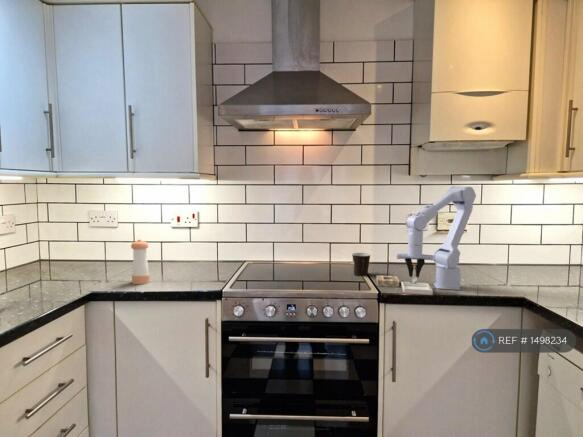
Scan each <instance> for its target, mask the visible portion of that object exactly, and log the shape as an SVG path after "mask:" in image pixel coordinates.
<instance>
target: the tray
mask: <svg viewBox="0 0 583 437" xmlns="http://www.w3.org/2000/svg"><path fill="white" fill-rule="evenodd" d="M400 288H401V289H402V292H403V294H406V295H408V294H409V295H424V296H433V294H434V293H433V292H434V290H433V288H432V287H431V286H430V284H429V283H428V282H417V284H411V281H401V282H400Z"/></svg>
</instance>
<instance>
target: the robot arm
mask: <svg viewBox="0 0 583 437" xmlns="http://www.w3.org/2000/svg"><path fill="white" fill-rule="evenodd" d="M476 197H477V194H476V191H475V189H474V188H473V187H472V186H451V187H450V188H449V189H446V191H445V193H444V194H443V195H442V196H441V197H439V198H438V199H437V200H436V201H435V202H434V203H433V204H425V205H423V208H421V209H420V210H419V211H416V212H415V214H412V215H409V217H408V218H407V219H406V221H405V226H406V227H407V232H408V234H407V236H408V237H407V240H408V241H407V253H396V260H404V262H405V264H406V266H407V270H408V276H409V278H411V277H412V264H413V260H415V261H416V264H417V278H419V277H420V273H421V271H422V270H423V266H424V265H425V263H426V261H432V262H434V263H435V266H436V268H435V271H436V273H435V282H433V286H434V287H435V288H436V289H437V290H439V289H440V290H455V291H457V290H458V291H460V290H461V275H462V274H461V269H460V267H458V265H459V263H460V255H461V251H460V250H459V248H458V247H459V244H460V242H461V240H462V238H463V234H464V232H465V229H466V227H467V224H468V221H469V219H470V217H471V214H472V211H473V208H474V207H473V206H474V203H475V200H476ZM451 203H452V205H454V207H456V212H455V215H454V217H453V218H454V219H453V220H452V222H451V225H450V228H449V230H448V233H447V236H446V238H445V240H444V243H441V244H440V245H439V246H438V247H437V249H436V250H435V251H434V253H433V254H424V253H423V240H424V239H423V238H424V230H425V229H426V227H427V225H428V223H430V221H432V220H433V219H434V218H436V217H437V216H438V214H439V211H440V210H442V209H444V207H446V206H448V205H449V204H451Z"/></svg>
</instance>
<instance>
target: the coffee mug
mask: <svg viewBox="0 0 583 437" xmlns="http://www.w3.org/2000/svg"><path fill="white" fill-rule="evenodd" d="M370 260H371V254H370V253H366V252H354V253H352V266H353V275H354V276H357V275H358V276H357V277H366V275H367V276H368V272H369V266H370Z"/></svg>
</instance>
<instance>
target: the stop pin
mask: <svg viewBox="0 0 583 437" xmlns="http://www.w3.org/2000/svg"><path fill="white" fill-rule="evenodd" d="M410 282H411V284H417V283H418V277H417V263H416V264H415V263H412V277H410Z"/></svg>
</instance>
